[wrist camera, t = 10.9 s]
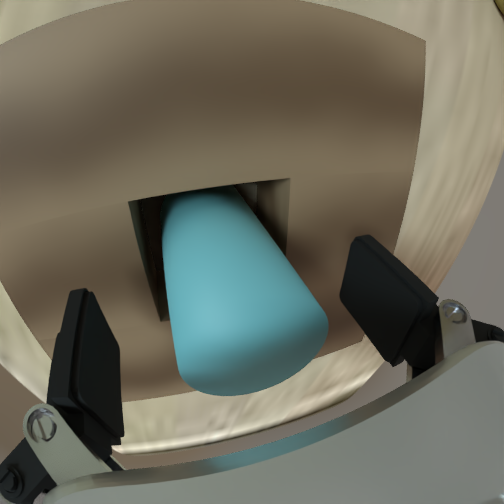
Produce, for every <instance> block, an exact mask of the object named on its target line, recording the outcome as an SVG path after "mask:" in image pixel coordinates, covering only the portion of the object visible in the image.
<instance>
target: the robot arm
mask: <svg viewBox="0 0 504 504" xmlns="http://www.w3.org/2000/svg"><path fill="white" fill-rule="evenodd" d="M339 297H340V301H341V302H342V304H343V305H344V306H345V308H346V309H347V310H348V312H349V313H350V314H351V315H352V317H353V318H354V319H355V321H356V322H357V323H358V325H359V326H360V327H361V329H362V330H363V331H364V333H365V334H366V335H367V337H368V338H369V339H370V341H371V342H372V343H373V345H374V346H375V348H376V349H377V350H378V352H379V353H380V354H381V356H382V357H383V358H384V360H385V361H387V362H389V363H390V364H391V365H392V367H394V366H396V365H398V364H400V363H402V362H403V361H404V359H405V360H406V361H407V377H406V383H405V384H404V385H402V386H400V387H398V388H397V389H395V390H393V391H391V392H390V393H388V394H386V395H384V396H382V397H380V398H378V399H376V400H374V401H372V402H370V403H368V404H367V405H364V406H362V407H360V408H358V409H356V410H354V411H352V412H350V413H347V414H345V415H343V416H341V417H339V418H336V419H334V420H331V421H329V422H327V423H324V424H322V425H319V426H317V427H314V428H312V429H309V430H306V431H304V432H301V433H298V434H295V435H293V436H290V437H287V438H284V439H281V440H278V441H275V442H271V443H268V444H265V445H262V446H258V447H255V448H251V449H248V450H243V451H239V452H235V453H231V454H227V455H223V456H218V457H214V458H209V459H203V460H199V461H192V462H186V463H181V464H174V465H168V466H160V467H151V468H142V469H131V470H126V469H125V468H124V467H123V466H122V465H121V464H120V463H119V462H118V461H117V460H116V459H115V458H114V457H113V456H112V455H111V454H112V447H111V445H121V438H120V437H124V423H123V412H122V397H121V373H120V348H119V344H118V342H117V340H116V338H115V336H114V334H113V332H112V331H111V329H110V327H109V325H108V323H107V320H106V318H105V316H104V314H103V312H102V310H101V308H100V306H99V304H98V301H97V299H96V297H95V295H94V293H93V292H92V291H90V292H89V291H88V289H87V288H82V289H76V290H71V291H70V293H69V296H68V300H67V304H66V308H65V312H64V316H63V321H62V325H61V330H60V332H59V333H58V334H57V337H56V341H55V346H54V351H53V357H52V363H51V370H50V377H49V384H48V393H47V403H46V404H43V403H41V404H37V405H35V406H33V407H32V408H30V410H29V411H28V412H27V413H26V415H25V418H24V422H23V431H24V435H25V438H24V439H23V440H22V441H21V442H20V443H19V444H18V446H17V447H16V448H15V449H14V450H13V451H12V452H11V453H10V454H9V455H8V456H7V458H6V459H5V460H4V461H3V462H2V463H1V464H0V504H504V331H503V330H502V329H500V328H498V327H496V326H493V325H490V324H486V323H482V322H479V321H476V320H472V319H471V317H470V314H469V312H468V310H467V309H466V307H464V306H463V305H462V304H461V303H459V302H458V301H455V300H450V299H447V300H443V301H442V302H441V303H440V305H439V307H438V306H437V305H436V303H437V301H438V299H439V298H438V297H437V296H436V295H435V294H434V293H433V292H432V291H431V290H430V289H429V288H428V287H427V286H426V285H425V284H424V283H423V282H422V281H421V280H420V279H419V278H418V277H417V276H416V275H415V274H414V273H413V272H412V271H410V270H409V269H408V268H407V267H406V266H405V265H404V264H403V263H402V262H401V261H400V260H398V259H397V258H396V257H395V256H394V255H393V254H392V253H391V252H390V251H388V250H387V249H386V248H385V247H384V246H383V245H382V244H380V243H379V242H378V241H377V240H376V239H375V238H374V237H372V236H371V235H368V234H367V235H362V236H357V237H355V238H354V240H353V241H352V243H351V245H350V250H349V254H348V259H347V263H346V268H345V272H344V277H343V281H342V285H341V289H340V293H339Z"/></svg>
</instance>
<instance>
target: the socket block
mask: <svg viewBox="0 0 504 504" xmlns="http://www.w3.org/2000/svg"><path fill="white" fill-rule="evenodd" d="M425 56H426V41H425V40H423V39H421V38H418V37H416V36H414V35H412V34H409V33H407V32H405V31H402V30H400V29H398V28H395V27H393V26H390V25H387V24H385V23H382V22H379V21H376V20H373V19H370V18H367V17H364V16H361V15H358V14H355V13H351V12H348V11H344V10H341V9H337V8H333V7H329V6H324V5H320V4H315V3H310V2H305V1H300V0H129V1H124V2H119V3H114V4H110V5H105V6H101V7H97V8H93V9H90V10H86V11H83V12H79V13H76V14H73V15H70V16H67V17H64V18H61V19H58V20H55V21H52V22H50V23H47V24H45V25H42V26H40V27H37V28H35V29H32V30H30V31H28V32H26V33H23V34H21V35H19V36H17V37H15V38H13V39H11V40H9V41H7V42H5V43H3V44H1V45H0V281H1V283H2V285H3V286H4V288H5V290H6V292H7V294H8V295H9V297H10V299H11V301H12V302H13V304H14V306H15V307H16V309H17V311H18V312H19V314H20V316H21V317H22V319H23V320H24V322H25V323H26V325H27V326H28V328H29V329H30V331H31V332H32V334H33V335H34V337H35V338H36V340H37V341H38V342H39V344H40V345H41V347H42V348H43V349H44V351H45V352H46V353H47V355H48V356H49V357H50V359H51V360H52V357H53V351H54V346H55V341H56V337H57V334H58V333H59V332H60V330H61V325H62V321H63V316H64V312H65V308H66V304H67V300H68V296H69V293H70V291H71V290H76V289H82V288H87V289H88V291H89V292H90V291H92V292H93V293H94V295H95V297H96V299H97V301H98V304H99V306H100V308H101V310H102V312H103V314H104V316H105V318H106V320H107V323H108V325H109V327H110V329H111V331H112V332H113V334H114V336H115V338H116V340H117V342H118V344H119V348H120V373H121V397H122V402H128V401H136V400H144V399H151V398H158V397H164V396H170V395H176V394H182V393H187V392H192V391H197V390H195V389H194V388H192V387H190V386H189V385H188V384H187V383H186V382H185V381H184V380H183V379H182V377H181V375H180V373H179V370H178V365H177V359H176V354H175V348H174V341H173V335H172V328H171V321H170V314H169V307H168V299H167V290H166V281H165V272H164V270H160V271H156V268H155V264H154V260H153V256H152V252H151V247H150V243H149V239H148V234H147V230H146V225H145V220H144V215H143V210H142V205H141V200H140V199H143V198H148V197H154V196H159V195H165V194H171V193H177V192H183V191H189V190H196V189H203V188H209V187H217V186H224V185H231V184H239V183H248V182H256V181H257V218H258V220H259V221H260V222H261V224H262V225H263V226H264V228H265V229H266V230H267V232H268V233H269V235H270V236H271V237H272V239H273V240H274V242H275V243H276V244H277V246H278V247H279V248H280V250H281V251H282V253H283V254H284V255H285V257H286V258H287V260H288V261H289V262H290V264H291V265H292V267H293V268H294V269H295V271H296V272H297V274H298V275H299V276H300V278H301V279H302V281H303V282H304V284H305V285H306V286H307V288H308V289H309V291H310V292H311V293H312V295H313V296H314V298H315V299H316V301H317V302H318V303H319V305H320V306H321V308H322V309H323V311H324V312H325V314H326V316H327V319H328V334H327V337H326V340H325V342H324V344H323V346H322V348H321V349H320V351H319V352H318V353H317V355H316V356H315V357H314V358H313V359H315V358H318V357H321V356H324V355H327V354H329V353H332V352H335V351H338V350H340V349H343V348H346V347H348V346H351V345H353V344H356V343H358V342H361V341H362V339H363V336H364V334H365V333H364V331H363V330H362V329H361V327H360V326H359V325H358V323H357V322H356V321H355V319H354V318H353V317H352V315H351V314H350V313H349V312H348V310H347V309H346V308H345V306H344V305H343V304H342V302H341V301H340V297H339V293H340V289H341V285H342V281H343V277H344V272H345V268H346V263H347V259H348V254H349V250H350V245H351V243H352V241H353V240H354V238H355V237H357V236H362V235H367V234H368V235H371V236H372V237H374V238H375V239H376V240H377V241H378V242H379V243H380V244H382V245H383V246H384V247H385V248H386V249H387V250H388V251H390V252H391V253H392V254H393V253H394V249H395V246H396V242H397V239H398V235H399V232H400V228H401V224H402V220H403V216H404V212H405V208H406V204H407V200H408V195H409V190H410V186H411V181H412V176H413V171H414V165H415V160H416V154H417V147H418V141H419V134H420V126H421V117H422V108H423V97H424V83H425Z"/></svg>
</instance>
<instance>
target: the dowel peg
mask: <svg viewBox="0 0 504 504" xmlns="http://www.w3.org/2000/svg"><path fill="white" fill-rule="evenodd" d="M160 223H161V237H162V250H163V262H164V272H165V281H166V290H167V299H168V307H169V314H170V321H171V328H172V335H173V341H174V348H175V354H176V359H177V365H178V370H179V373H180V375H181V377H182V379H183V380H184V381H185V382H186V383H187V384H188V385H189V386H190V387H192V388H194V389H195V390H197V391H200V392H203V393H206V394H210V395H217V396H236V395H244V394H249V393H253V392H257V391H261V390H264V389H267V388H269V387H272V386H274V385H276V384H279V383H281V382H283V381H284V380H286V379H288V378H290V377H291V376H293V375H294V374H296V373H297V372H299V371H300V370H301V369H303V368H304V367H305V366H306V365H307V364H308V363H309V362H310V361H311V360H312V359H313V358H314V357H315V356H316V355H317V353H318V352H319V351H320V349H321V348H322V346H323V344H324V342H325V340H326V337H327V334H328V319H327V316H326V314H325V312H324V311H323V309H322V308H321V306H320V305H319V303H318V302H317V301H316V299H315V298H314V296H313V295H312V293H311V292H310V291H309V289H308V288H307V286H306V285H305V284H304V282H303V281H302V279H301V278H300V276H299V275H298V274H297V272H296V271H295V269H294V268H293V267H292V265H291V264H290V262H289V261H288V260H287V258H286V257H285V255H284V254H283V253H282V251H281V250H280V248H279V247H278V246H277V244H276V243H275V242H274V240H273V239H272V237H271V236H270V235H269V233H268V232H267V230H266V229H265V228H264V226H263V225H262V224H261V222H260V221H259V220H258V218H257V217H256V215H255V214H254V213H253V211H252V210H251V209H250V207H249V206H248V205H247V203H246V202H245V200H244V199H243V198H242V196H241V195H240V194H239V192H238V191H237V190H236V189H235V187H234V186H233V185H232V184H231V185H224V186H217V187H209V188H203V189H196V190H189V191H183V192H177V193H171V194H167V195H166V197H165V199H164V201H163V203H162V206H161V211H160Z"/></svg>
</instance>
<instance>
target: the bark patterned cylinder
mask: <svg viewBox="0 0 504 504" xmlns="http://www.w3.org/2000/svg"><path fill="white" fill-rule="evenodd" d="M495 2H496V4H497V6H498V8H499V9H500V11H501V12H502V13H503V15H504V0H495Z"/></svg>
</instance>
